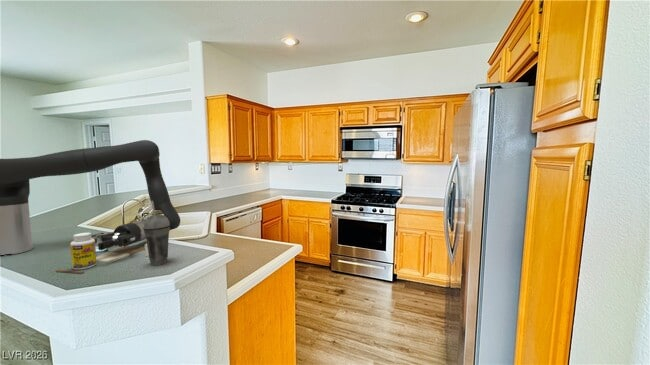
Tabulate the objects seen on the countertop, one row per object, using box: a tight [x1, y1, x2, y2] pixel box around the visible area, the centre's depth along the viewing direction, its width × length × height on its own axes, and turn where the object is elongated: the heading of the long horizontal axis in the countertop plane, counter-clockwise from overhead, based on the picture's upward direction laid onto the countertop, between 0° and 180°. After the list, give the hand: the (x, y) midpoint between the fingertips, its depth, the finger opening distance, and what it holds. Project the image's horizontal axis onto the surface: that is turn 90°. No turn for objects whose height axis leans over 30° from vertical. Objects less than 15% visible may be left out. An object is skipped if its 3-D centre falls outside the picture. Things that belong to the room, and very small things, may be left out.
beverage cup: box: [143, 200, 171, 267], centre depth 83 cm, size 7×7×20 cm
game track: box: [55, 245, 145, 275], centre depth 88 cm, size 9×22×1 cm, turn 170°
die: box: [144, 243, 149, 257], centre depth 92 cm, size 4×4×4 cm
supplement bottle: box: [69, 232, 97, 271], centre depth 81 cm, size 6×6×10 cm
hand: (87, 246), depth 82 cm, fingers open, 8 cm apart
